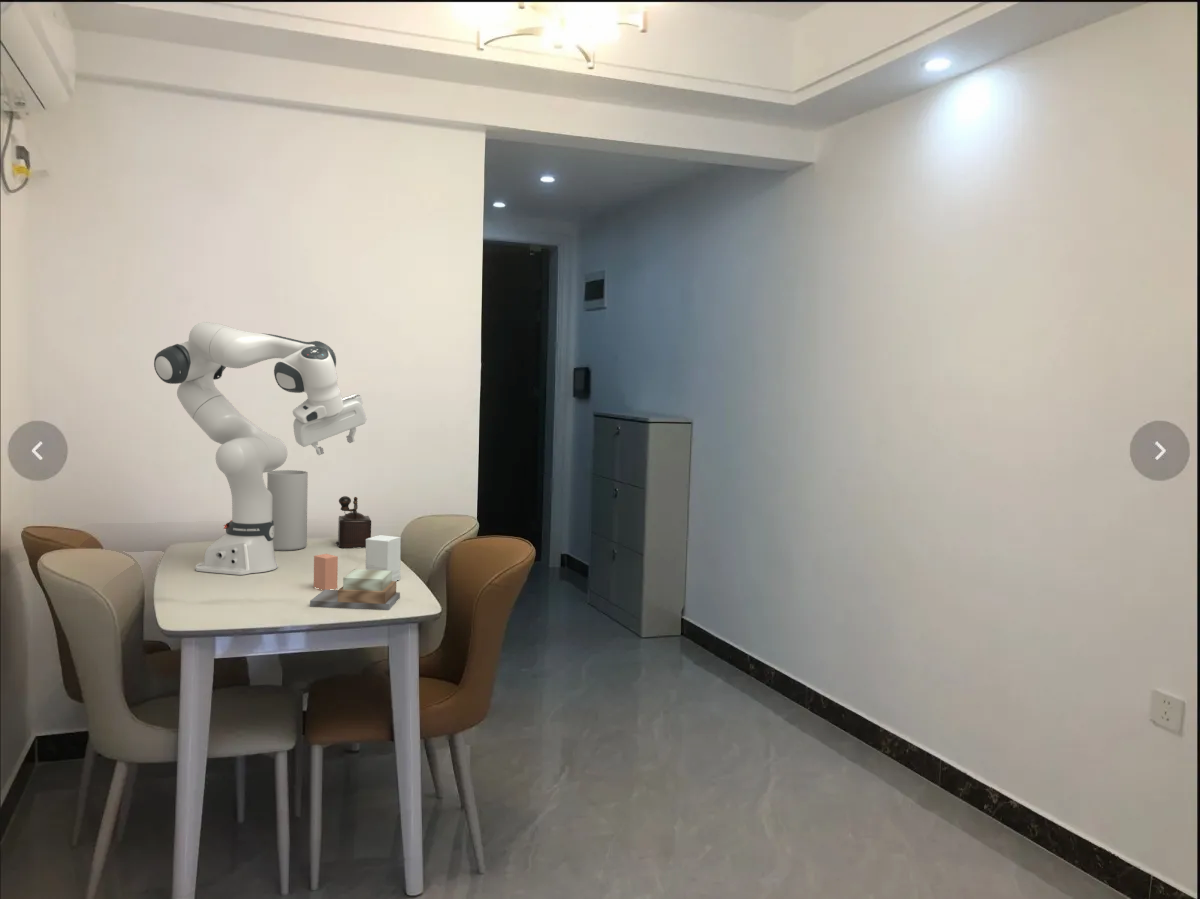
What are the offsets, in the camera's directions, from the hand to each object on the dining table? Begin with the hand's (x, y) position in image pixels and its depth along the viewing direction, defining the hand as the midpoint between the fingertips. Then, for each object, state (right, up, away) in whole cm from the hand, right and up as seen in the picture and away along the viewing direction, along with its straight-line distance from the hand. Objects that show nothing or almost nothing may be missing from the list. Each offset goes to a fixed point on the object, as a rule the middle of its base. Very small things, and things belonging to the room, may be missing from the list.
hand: (335, 447), depth 256 cm
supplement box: (+12, -38, +3) cm, 40 cm away
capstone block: (-1, -39, -8) cm, 39 cm away
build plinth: (+11, -40, -21) cm, 46 cm away
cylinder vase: (-29, -33, +44) cm, 63 cm away
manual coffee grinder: (-9, -34, +50) cm, 61 cm away
